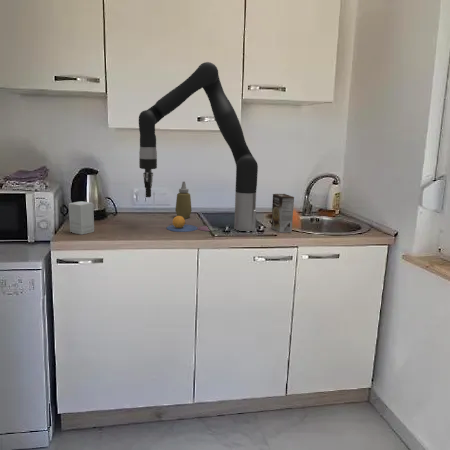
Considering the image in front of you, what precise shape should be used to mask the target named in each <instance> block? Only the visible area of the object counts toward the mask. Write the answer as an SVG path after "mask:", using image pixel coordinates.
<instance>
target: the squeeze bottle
mask: <svg viewBox="0 0 450 450" xmlns="http://www.w3.org/2000/svg"><path fill="white" fill-rule="evenodd" d="M191 198H192V197H191V194H190V193H189V188H187V186H186V181H182V182H181V187H180V188H179V189H178V193H177V195H176V202H175V213H176V216H182V217H183V218H184V219H189V218H190V216H191V213H192V199H191Z"/></svg>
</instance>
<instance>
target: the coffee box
mask: <svg viewBox="0 0 450 450" xmlns="http://www.w3.org/2000/svg"><path fill="white" fill-rule="evenodd" d="M294 202H295V196H293V195H292V196H291V195H289V194H286V193H273V194H272V206H271V207H272V208H271V225H270V226H271V227H270V228H271V229H272V230H274V231H276V232H278V233H292V231H293V221H294V220H293V217H294V208H295V207H294V205H295V204H294Z"/></svg>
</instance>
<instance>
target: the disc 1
mask: <svg viewBox="0 0 450 450" xmlns="http://www.w3.org/2000/svg"><path fill="white" fill-rule="evenodd" d="M198 227H199V226H198ZM198 227H197V226H196V225H192V224H185V225H184V226H183V227H182V228H176V227H175V226H174V225H173V224H170V225H167V226H166V230H168V231H170V232H177V233H181V232H182V233H187V232H189V233H190V232H194V231H197V230H199V229H198Z"/></svg>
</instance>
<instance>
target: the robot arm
mask: <svg viewBox="0 0 450 450" xmlns="http://www.w3.org/2000/svg"><path fill="white" fill-rule="evenodd" d="M202 88H203V91H204V92H205V95H206V97H207V98H208V101H209V104H210V107H211V111H212V113H213V114H212V115H213V117H214V120H215V123H216V125H217V127H218V129H219V131H220V134H221V135H222V137H223V139H224V141H225V142H226V144H227V145H228V147H229V149H230V151H231V154H232V156H233V159H234V163H235V167H236V168H235V194H234V195H235V197H234V199H235V200H234V223H233V226H234V227H233V229H236V230H239V231H252V232H256V225H257V209H256V205H257V188H258V172H259V170H258V169H259V166H258V162H257V159H256V158H255V157H254V156H253V154H252V152H251V150H250V148H249V146H248V145H247V143H246V140H245V136H244V132H243V129H242V125H241V123H240V121H239V120H240V119H239V118H238V115H237V112H236V111H235V109H234V107H233V105H232V103H231V102H230V100H229V98H228V97H227V94H225V92H224V89H223V86H222V83H221V80H220V76H219V70H218V67H217V66H216V64H215V63H212V62H209V61H206V62H205V61H204V62H203V63H201V64H200V65H199V66H198V67H197V68H196V70H194V71H193V72H192V74H190V76H189V77H187V78H186V79H185V80H184V81H183V82H181V83H180V84H179V85H177V86H176V87H175V88H173V89H172V90H170V91H169V92H168V93H166V94H165V95H163V96H162V97H160V98H159V99H158V100H157V101H156V102H155V103H154V104H153V105H152V106H151V107H149V108H148V109H146V110H142V111H141V112H140V113H139V116H138V130H139V152H138V153H139V155H138V157H139V162H138V163H139V168H140V169H141V170H144V172H143V174H142V176H143V184H144V189H145V197H146V198H151V197H152V186H153V178H154V172H152V170H156V169H157V168H158V151H157V135H156V124H157V123H158V122H160V121H161V120H163V118H164V117H166V116H167V115H169V114H170V113H173V112H174V110H176V109H178V107H180V106H181V105H182V104H183V103H185V102H186V100H187V99H189V98H190V97H191V96H192V95H194V94H195V93H196V92H198V91H200V90H201V89H202ZM236 230H235V231H236ZM239 231H238V232H239Z"/></svg>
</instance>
